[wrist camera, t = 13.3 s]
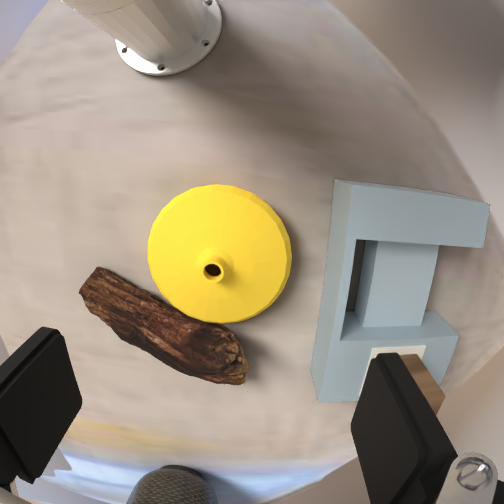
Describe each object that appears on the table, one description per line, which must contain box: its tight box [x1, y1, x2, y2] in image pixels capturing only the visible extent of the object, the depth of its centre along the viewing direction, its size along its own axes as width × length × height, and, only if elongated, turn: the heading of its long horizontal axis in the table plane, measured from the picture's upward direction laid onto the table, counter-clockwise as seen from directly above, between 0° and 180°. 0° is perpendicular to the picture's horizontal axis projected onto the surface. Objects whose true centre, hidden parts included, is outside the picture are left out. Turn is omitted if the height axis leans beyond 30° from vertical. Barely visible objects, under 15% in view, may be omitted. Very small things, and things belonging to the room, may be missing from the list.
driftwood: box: [79, 267, 249, 385], centre depth 36 cm, size 23×8×8 cm, turn 69°
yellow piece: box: [148, 184, 292, 324], centre depth 34 cm, size 16×16×7 cm
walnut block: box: [399, 354, 445, 415], centre depth 29 cm, size 5×5×8 cm
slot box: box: [311, 179, 490, 403], centre depth 34 cm, size 25×17×7 cm
